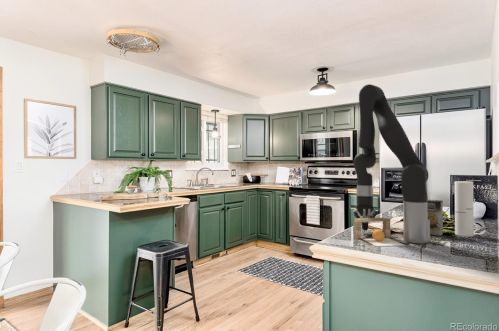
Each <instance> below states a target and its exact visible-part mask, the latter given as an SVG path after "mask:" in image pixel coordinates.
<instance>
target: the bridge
mask: <svg viewBox="0 0 499 331" xmlns="http://www.w3.org/2000/svg"><path fill="white" fill-rule="evenodd" d="M361 222H369V223H370V222H371V223H372V222H373V223H375V222H382V231H383V232H384V234H385V237H384V238H389V239H391V217H375V218H361V217H360V218H355V217H354V218H353V238H354V239H356V240H359V239H362V226H361Z"/></svg>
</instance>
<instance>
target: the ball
mask: <svg viewBox="0 0 499 331" xmlns="http://www.w3.org/2000/svg"><path fill="white" fill-rule="evenodd" d="M371 236H372V239H374V240H376V241H382V240H383V239H384V238H386V237H385V234H384V232H383V230H381V229H375V230H373V231H372V235H371Z"/></svg>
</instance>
